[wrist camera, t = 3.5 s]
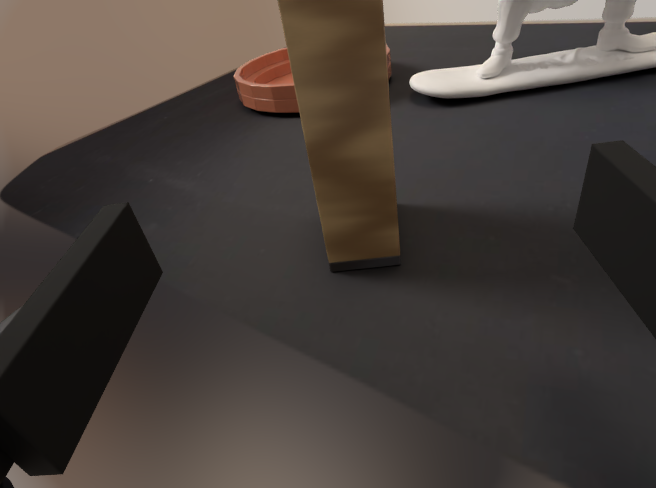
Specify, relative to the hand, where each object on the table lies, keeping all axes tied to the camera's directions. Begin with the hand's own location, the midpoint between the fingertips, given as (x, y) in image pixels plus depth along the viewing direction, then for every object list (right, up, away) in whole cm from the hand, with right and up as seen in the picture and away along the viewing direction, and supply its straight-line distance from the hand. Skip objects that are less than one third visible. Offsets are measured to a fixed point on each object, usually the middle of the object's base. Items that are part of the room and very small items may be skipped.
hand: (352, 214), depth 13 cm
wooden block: (+1, 0, +12) cm, 12 cm away
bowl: (-2, +16, +35) cm, 38 cm away
